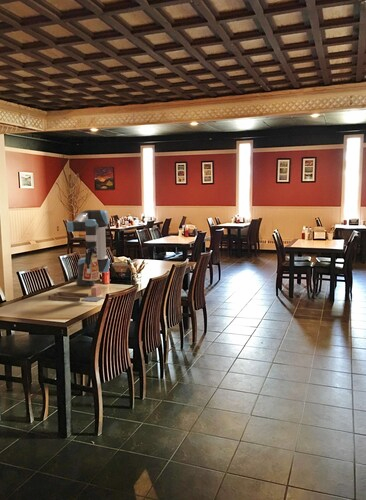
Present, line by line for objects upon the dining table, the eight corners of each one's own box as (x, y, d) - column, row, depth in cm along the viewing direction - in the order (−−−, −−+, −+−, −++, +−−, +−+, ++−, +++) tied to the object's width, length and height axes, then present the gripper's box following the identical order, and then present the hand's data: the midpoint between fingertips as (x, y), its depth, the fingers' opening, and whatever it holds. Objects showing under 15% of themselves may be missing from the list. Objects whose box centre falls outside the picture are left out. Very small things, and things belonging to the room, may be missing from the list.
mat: (88, 297, 315) (88, 296, 315) (103, 298, 313) (103, 297, 313) (81, 300, 304) (81, 300, 304) (96, 301, 301) (96, 301, 301)
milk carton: (82, 279, 304) (81, 252, 302) (90, 277, 313) (90, 250, 310) (92, 280, 300) (91, 253, 298) (100, 278, 308) (100, 251, 306)
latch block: (96, 293, 327) (96, 285, 327) (101, 294, 327) (101, 285, 326) (91, 296, 318) (91, 287, 317) (96, 297, 317) (96, 287, 316)
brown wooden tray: (58, 295, 322) (58, 291, 322) (88, 296, 317) (88, 293, 317) (48, 299, 307) (48, 296, 307) (79, 301, 302) (79, 297, 302)
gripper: (92, 239, 314) (92, 269, 317) (79, 242, 294) (80, 274, 296) (101, 239, 313) (102, 269, 315) (89, 242, 292) (90, 274, 295)
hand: (91, 272), depth 306 cm, fingers closed on milk carton, 8 cm apart
